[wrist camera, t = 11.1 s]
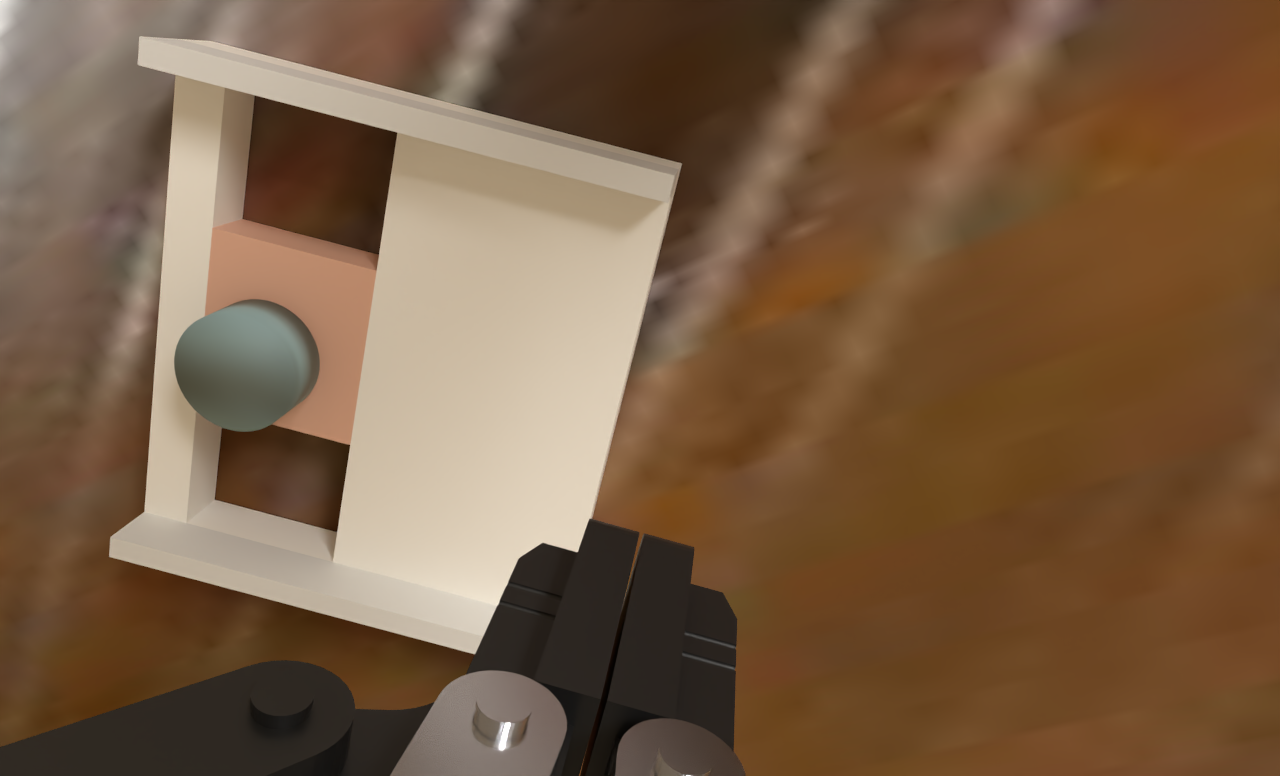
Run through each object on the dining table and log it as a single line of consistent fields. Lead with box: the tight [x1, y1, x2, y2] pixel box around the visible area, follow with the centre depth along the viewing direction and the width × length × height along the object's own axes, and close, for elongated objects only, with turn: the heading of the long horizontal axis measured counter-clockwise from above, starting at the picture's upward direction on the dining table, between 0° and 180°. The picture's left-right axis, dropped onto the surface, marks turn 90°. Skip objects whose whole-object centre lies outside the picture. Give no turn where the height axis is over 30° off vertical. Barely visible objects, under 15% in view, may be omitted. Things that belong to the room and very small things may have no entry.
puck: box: [174, 299, 320, 432], centre depth 39 cm, size 5×5×2 cm
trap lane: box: [109, 36, 682, 654], centre depth 40 cm, size 22×20×5 cm
